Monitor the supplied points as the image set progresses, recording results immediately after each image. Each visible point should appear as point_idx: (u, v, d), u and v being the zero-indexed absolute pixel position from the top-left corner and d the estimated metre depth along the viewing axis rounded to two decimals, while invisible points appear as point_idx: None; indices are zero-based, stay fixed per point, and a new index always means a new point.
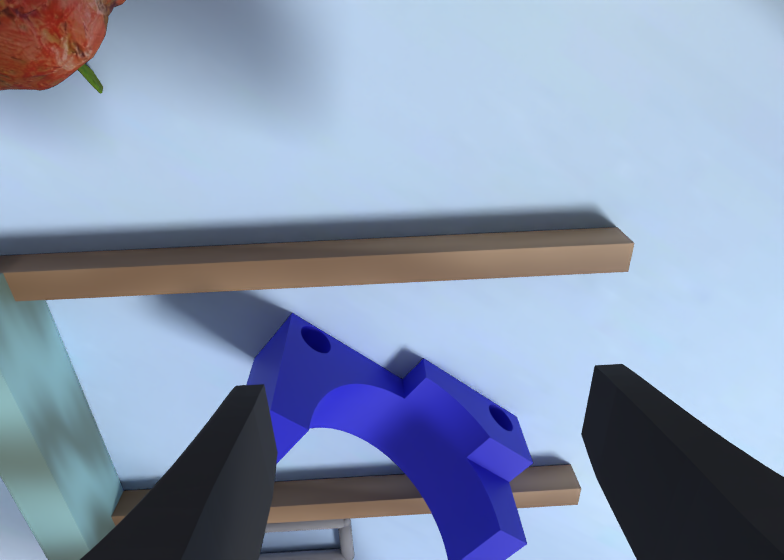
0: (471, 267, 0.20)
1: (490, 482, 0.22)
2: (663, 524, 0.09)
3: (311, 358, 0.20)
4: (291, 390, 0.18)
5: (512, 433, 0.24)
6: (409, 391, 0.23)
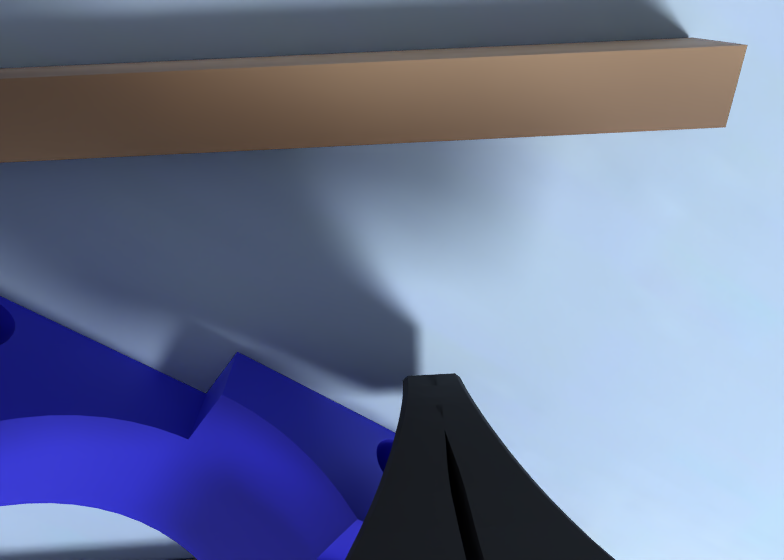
0: (343, 112, 0.08)
1: None
2: None
3: None
4: None
5: None
6: (198, 424, 0.11)
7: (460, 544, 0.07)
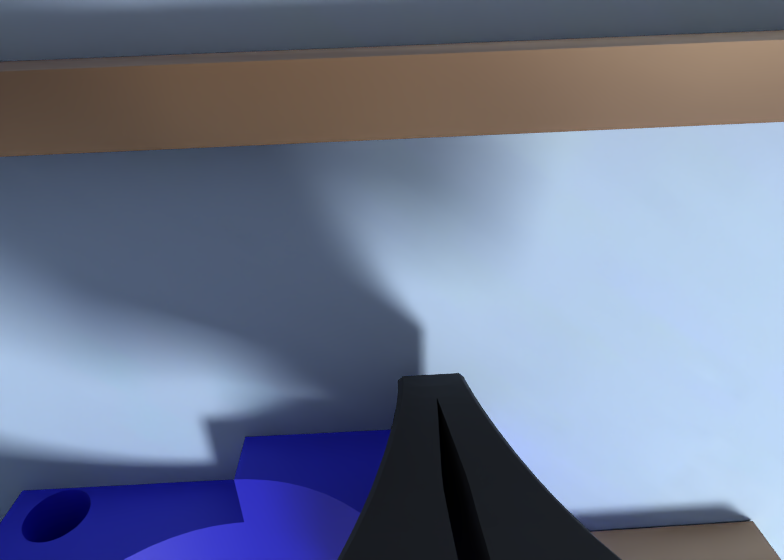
0: (679, 93, 0.08)
1: None
2: (461, 537, 0.09)
3: None
4: None
5: None
6: (242, 507, 0.13)
7: (452, 544, 0.07)
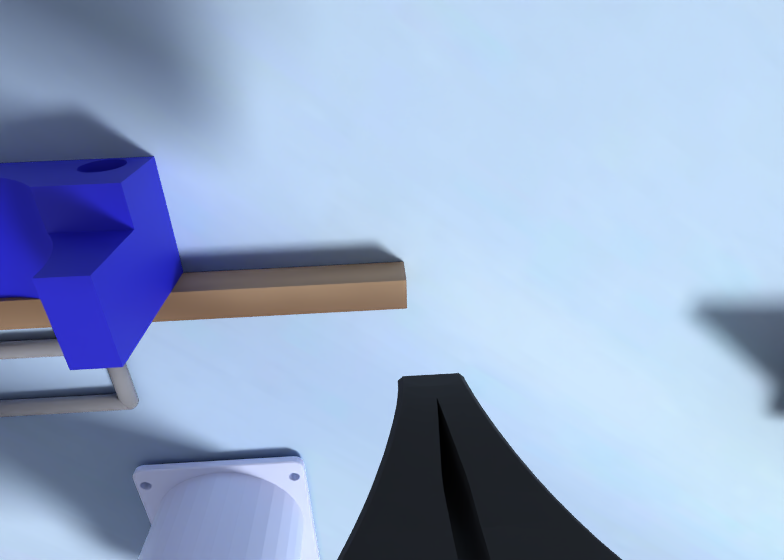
0: None
1: (78, 240, 0.16)
2: (460, 537, 0.09)
3: None
4: None
5: (109, 171, 0.17)
6: None
7: (452, 544, 0.07)
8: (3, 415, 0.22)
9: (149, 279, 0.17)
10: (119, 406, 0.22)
